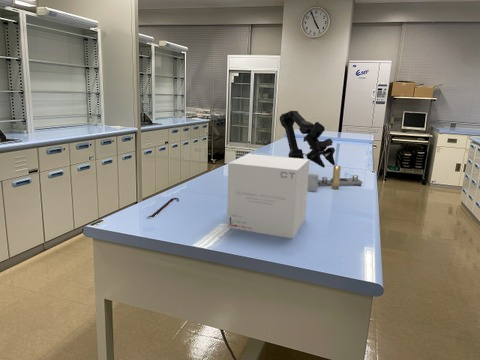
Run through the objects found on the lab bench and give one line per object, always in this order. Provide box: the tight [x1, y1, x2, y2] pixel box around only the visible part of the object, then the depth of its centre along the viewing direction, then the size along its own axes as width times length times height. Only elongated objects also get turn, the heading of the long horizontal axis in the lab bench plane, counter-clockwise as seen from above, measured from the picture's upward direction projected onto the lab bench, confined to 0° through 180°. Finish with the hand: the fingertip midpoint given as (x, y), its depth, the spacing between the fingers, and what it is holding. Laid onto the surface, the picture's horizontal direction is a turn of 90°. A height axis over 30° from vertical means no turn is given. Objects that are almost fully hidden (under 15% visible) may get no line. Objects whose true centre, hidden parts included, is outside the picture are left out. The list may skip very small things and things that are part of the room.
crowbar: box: [147, 197, 180, 218], centre depth 157 cm, size 28×1×5 cm
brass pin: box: [331, 165, 342, 190], centre depth 194 cm, size 4×4×12 cm
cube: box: [226, 153, 310, 239], centre depth 140 cm, size 25×21×24 cm
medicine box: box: [307, 172, 319, 193], centre depth 190 cm, size 8×4×9 cm, turn 71°
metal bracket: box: [318, 174, 363, 187], centre depth 204 cm, size 23×8×5 cm, turn 96°
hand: (329, 166), depth 196 cm, fingers open, 9 cm apart
